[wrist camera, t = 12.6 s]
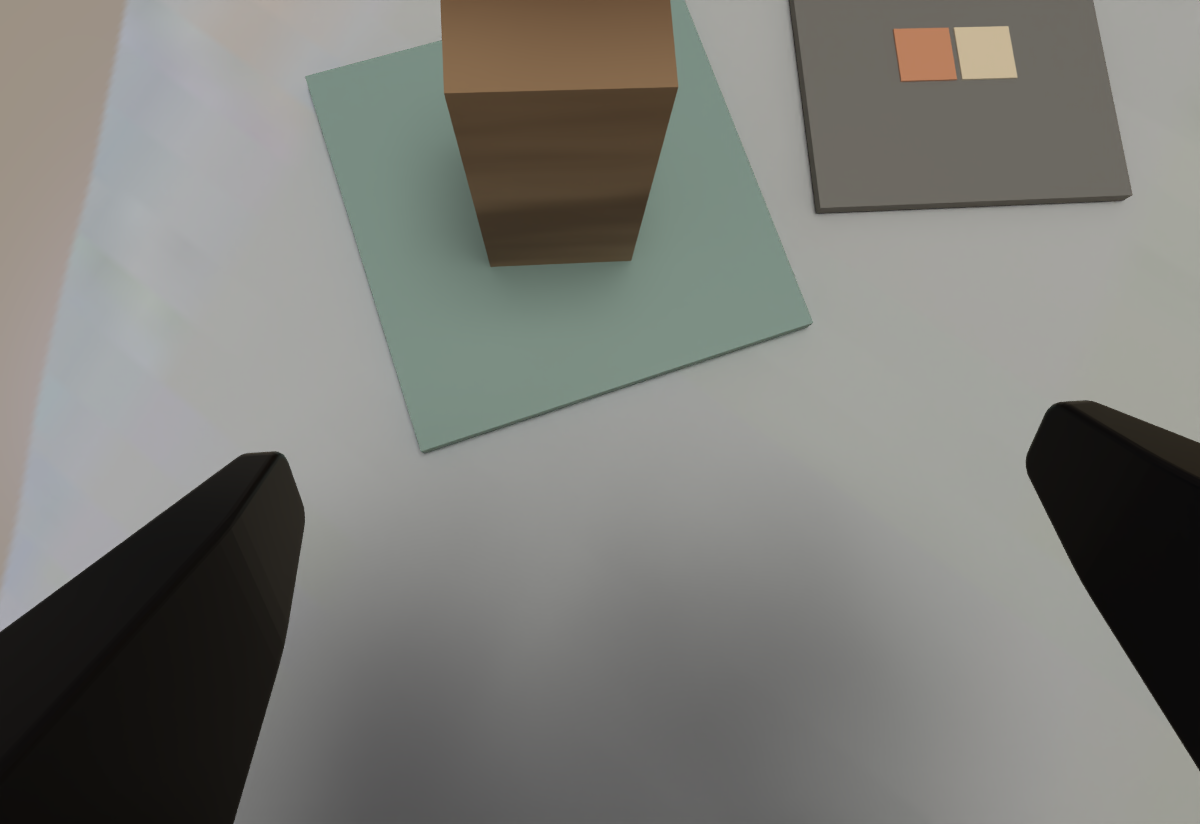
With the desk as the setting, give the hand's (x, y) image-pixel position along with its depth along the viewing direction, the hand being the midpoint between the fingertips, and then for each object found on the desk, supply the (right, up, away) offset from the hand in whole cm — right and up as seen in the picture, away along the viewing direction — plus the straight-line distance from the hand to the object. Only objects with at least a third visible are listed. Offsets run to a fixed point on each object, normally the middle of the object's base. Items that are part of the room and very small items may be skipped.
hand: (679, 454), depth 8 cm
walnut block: (-2, +7, +14) cm, 16 cm away
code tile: (+11, +13, +17) cm, 24 cm away
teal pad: (-2, +7, +15) cm, 17 cm away
